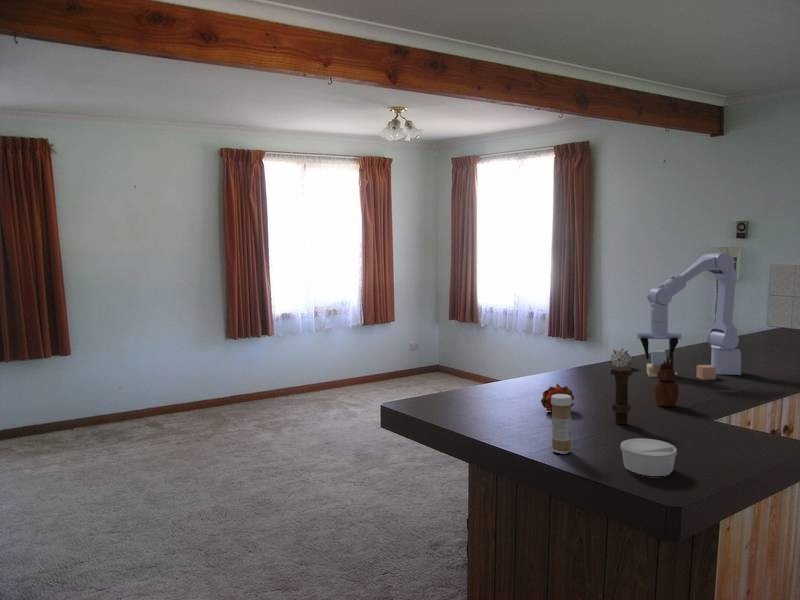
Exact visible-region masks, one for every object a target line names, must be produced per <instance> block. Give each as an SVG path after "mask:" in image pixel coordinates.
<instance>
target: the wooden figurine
mask: <svg viewBox="0 0 800 600" xmlns="http://www.w3.org/2000/svg"><path fill="white" fill-rule="evenodd" d="M675 372H676V371H675V369H674V354H673V355H672V358H671V360H669V356H666V363H665V361H664V362H663V364H662V363H661V366H660V369H659V370H658V372H657V377H656V378H658V380H656V381H655V382H654V384H653V396H654V401H655V402H656V404H657V405H658V406H660V407H663V406H665V407H664V408H670V407H674V406H676V404H677V402H678V399H679V395H680V393H679V392H680V389H679V384H678V383H677V382H676V381H674V380H676V379H675V378H676V375H675Z"/></svg>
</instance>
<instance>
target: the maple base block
mask: <svg viewBox="0 0 800 600" xmlns="http://www.w3.org/2000/svg"><path fill="white" fill-rule="evenodd" d="M659 369H660V366H652V363H646V374H647V376H648V377H650V378H652V377H653V378H654V377H655V378H658V377H657V372H658V370H659Z"/></svg>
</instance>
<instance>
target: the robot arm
mask: <svg viewBox="0 0 800 600" xmlns="http://www.w3.org/2000/svg"><path fill="white" fill-rule="evenodd" d="M706 271H707V272H710V273H712V274H713V275H714V276H715V277H716V278H717V279H718V288H717V297H716V298H717V299H716V310H715V321H714V322H713V323H712V324H711V325H710V326H709V327H710V328H709V332H708V333H707V337H706V339H707V343H708V344H709V346H710V348H711V352H710V353H711V358H710V359H711V362H710V365H711V366H714V367H716V375H725V376H728V375H729V376H730V375H731V376H732V375H733V376H735V375H737V376H741V375H742V353H741V350H740V349H737V347H738V344H739V341H740V338H739V335H738V327H736V326H735V325H734V324H733V321H734V320H733V318H734V317H733V316H734V310H735V309H734V307H735V295H736V294H735V293H736V284H737V271H736V268H735V258H733V257H732V255H731V254H729V253H728V252H722V253H721V252H718V253H717V252H714V253H712V252H706V253H704V254H703V255H701V256H700V257H698V259H697V260H696V261H695V262H694V263H692V265H690V266H689V267H688V268H687V269H685V270H684V271H683V272H681V274H673V275H672V274H671V275H669V277H668V279H667V280H665V281H664V282H663V283H660V284H658V287H653V288H651V289H650V291H649V292H648V294H647V295H646V297H647V300H648V302H649V306H650V326H649V327H650V332H637V333H636V338H637V340H640V342H641V345H642V348H643V350H644V353H645V359H646V360H649V358H650V356H649V347H650V346H649V342H650V341H649V340H650V339H651V340H668V348H669V349H668V350H669V351H668V359H669V361H671V358H672V355H673V356H674V352H675V350H676V347H677V345H678V343H679V340H682V334H681V333H673V332H669V331H668V329H669V327H668V326H669V324H668V323H669V303H670V302H672V299H673V297H674V296H675V295H677V294H678V293H679V292H681V291H682V290H683V289H685V288H686V286H687V283H688V282H689V281H691V280H692V279H694V278H695V277H697V276H698V275H700V274H701V273H703V272H706Z"/></svg>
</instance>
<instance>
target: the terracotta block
mask: <svg viewBox="0 0 800 600" xmlns="http://www.w3.org/2000/svg"><path fill="white" fill-rule="evenodd" d="M716 375H717V374H716V367H714V366H711V364H697V365H696V378H698V379H700V380H716V378H717V377H716Z"/></svg>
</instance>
